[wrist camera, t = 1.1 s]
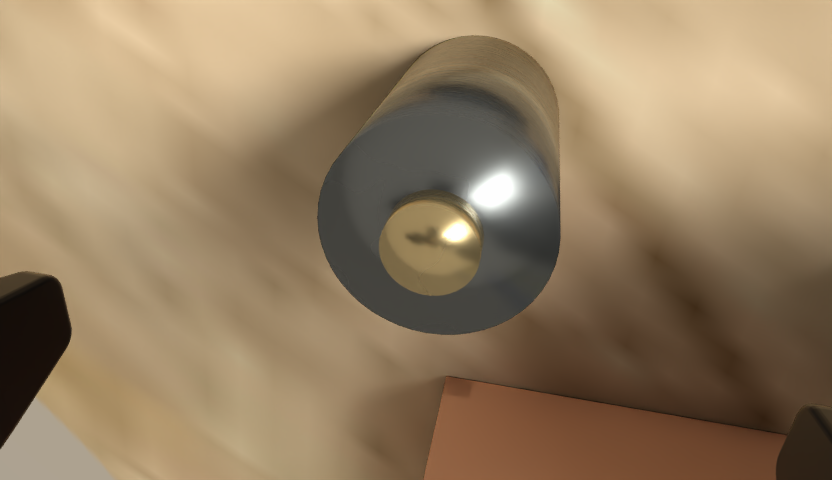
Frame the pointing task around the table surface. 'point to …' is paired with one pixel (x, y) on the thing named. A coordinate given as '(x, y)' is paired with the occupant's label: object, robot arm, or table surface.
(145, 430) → the table surface
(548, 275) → the battery cell
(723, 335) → the table surface
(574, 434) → the bin
